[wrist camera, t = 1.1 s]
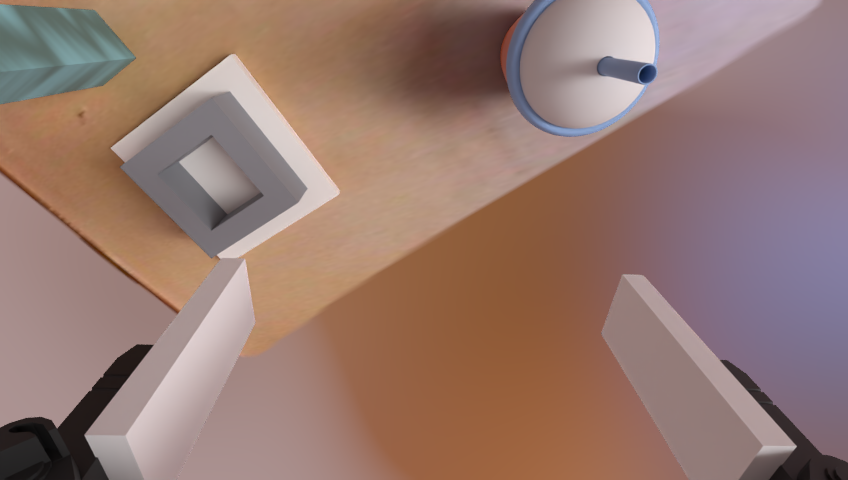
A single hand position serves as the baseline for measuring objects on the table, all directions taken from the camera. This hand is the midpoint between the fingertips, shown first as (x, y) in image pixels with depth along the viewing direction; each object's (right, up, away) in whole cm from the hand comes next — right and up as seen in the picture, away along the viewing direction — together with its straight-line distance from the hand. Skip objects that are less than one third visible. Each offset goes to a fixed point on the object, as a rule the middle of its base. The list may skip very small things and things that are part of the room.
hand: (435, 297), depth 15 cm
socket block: (-18, +9, +23) cm, 31 cm away
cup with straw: (+9, +18, +20) cm, 28 cm away
